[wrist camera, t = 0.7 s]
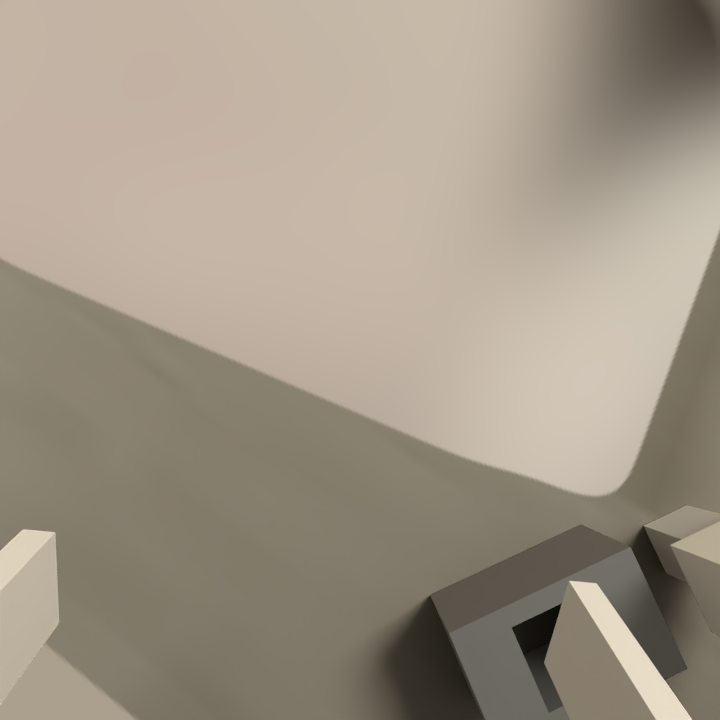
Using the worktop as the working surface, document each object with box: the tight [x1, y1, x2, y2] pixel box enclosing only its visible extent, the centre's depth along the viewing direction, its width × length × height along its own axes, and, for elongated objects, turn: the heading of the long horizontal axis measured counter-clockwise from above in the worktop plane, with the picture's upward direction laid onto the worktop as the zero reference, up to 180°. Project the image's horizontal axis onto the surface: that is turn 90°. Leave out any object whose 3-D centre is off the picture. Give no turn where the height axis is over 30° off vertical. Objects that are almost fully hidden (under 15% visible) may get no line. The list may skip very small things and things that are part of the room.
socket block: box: [430, 525, 687, 720], centre depth 26 cm, size 6×10×5 cm, turn 113°
